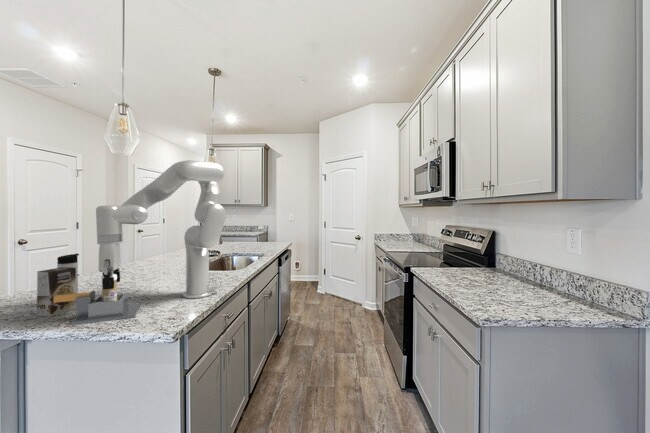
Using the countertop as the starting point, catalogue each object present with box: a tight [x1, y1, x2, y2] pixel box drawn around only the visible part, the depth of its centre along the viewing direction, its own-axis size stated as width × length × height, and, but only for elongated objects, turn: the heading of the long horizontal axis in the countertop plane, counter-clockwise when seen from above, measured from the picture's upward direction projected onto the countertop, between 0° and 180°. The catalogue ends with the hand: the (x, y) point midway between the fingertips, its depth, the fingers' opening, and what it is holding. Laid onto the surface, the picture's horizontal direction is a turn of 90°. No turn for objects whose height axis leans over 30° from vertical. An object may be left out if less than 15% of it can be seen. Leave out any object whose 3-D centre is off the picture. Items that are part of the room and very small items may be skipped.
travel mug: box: [56, 253, 80, 294], centre depth 118 cm, size 6×7×20 cm
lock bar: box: [54, 290, 96, 303], centre depth 103 cm, size 11×3×3 cm, turn 115°
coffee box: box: [36, 267, 76, 318], centre depth 108 cm, size 9×6×16 cm
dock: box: [70, 292, 142, 326], centre depth 107 cm, size 18×14×8 cm
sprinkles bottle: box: [101, 274, 118, 302], centre depth 107 cm, size 5×5×13 cm
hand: (111, 285), depth 107 cm, fingers open, 9 cm apart
